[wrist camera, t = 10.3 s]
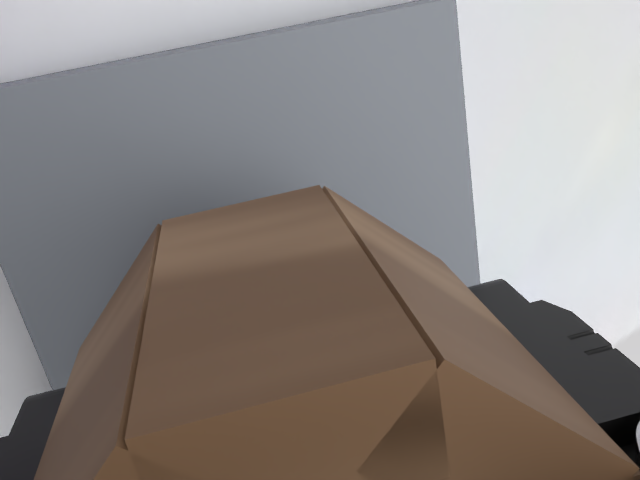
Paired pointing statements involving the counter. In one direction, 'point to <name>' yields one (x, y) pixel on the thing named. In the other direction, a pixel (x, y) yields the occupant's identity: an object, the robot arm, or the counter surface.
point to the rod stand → (228, 151)
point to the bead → (310, 363)
